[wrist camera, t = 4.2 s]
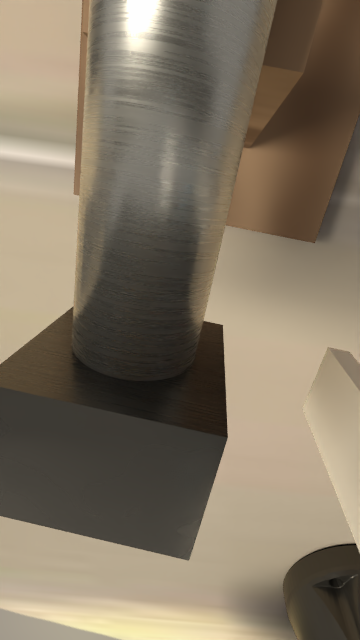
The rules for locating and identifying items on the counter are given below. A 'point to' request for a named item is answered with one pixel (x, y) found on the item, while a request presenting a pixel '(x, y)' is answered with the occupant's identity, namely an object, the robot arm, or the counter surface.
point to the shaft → (139, 284)
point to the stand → (288, 118)
